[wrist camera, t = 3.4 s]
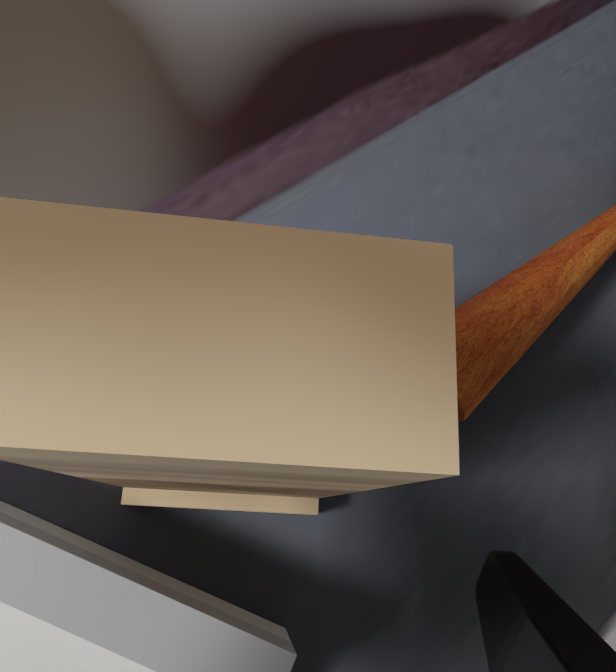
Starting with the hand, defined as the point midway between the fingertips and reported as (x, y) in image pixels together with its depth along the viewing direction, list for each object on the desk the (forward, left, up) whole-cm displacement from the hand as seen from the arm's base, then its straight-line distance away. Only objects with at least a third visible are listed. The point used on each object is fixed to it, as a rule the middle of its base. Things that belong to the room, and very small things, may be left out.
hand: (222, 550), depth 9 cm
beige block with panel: (+2, +1, -10) cm, 10 cm away
